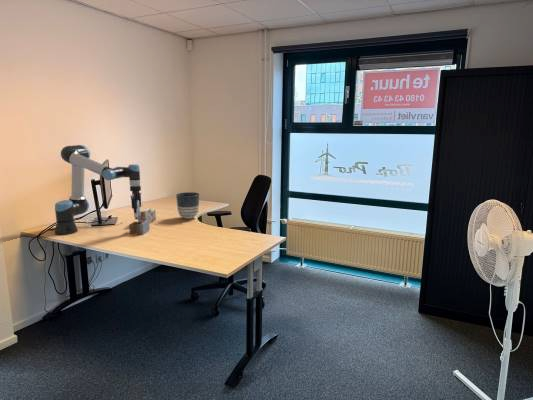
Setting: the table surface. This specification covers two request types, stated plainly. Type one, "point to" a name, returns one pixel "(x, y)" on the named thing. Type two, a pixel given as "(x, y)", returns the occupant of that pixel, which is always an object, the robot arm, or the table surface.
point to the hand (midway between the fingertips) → (137, 216)
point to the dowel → (138, 211)
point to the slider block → (135, 228)
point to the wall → (144, 227)
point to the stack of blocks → (147, 215)
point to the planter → (187, 204)
